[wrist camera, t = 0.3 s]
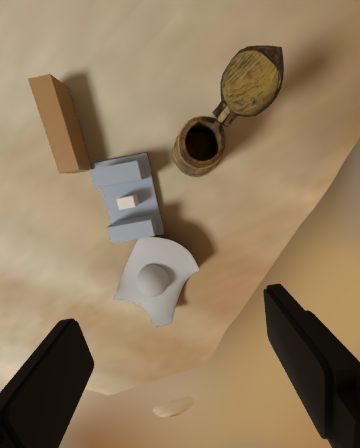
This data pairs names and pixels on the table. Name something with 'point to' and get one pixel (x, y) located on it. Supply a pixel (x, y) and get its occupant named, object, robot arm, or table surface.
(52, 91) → the tan wooden plank
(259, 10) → the table surface
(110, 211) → the display stand
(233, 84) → the wooden mug
